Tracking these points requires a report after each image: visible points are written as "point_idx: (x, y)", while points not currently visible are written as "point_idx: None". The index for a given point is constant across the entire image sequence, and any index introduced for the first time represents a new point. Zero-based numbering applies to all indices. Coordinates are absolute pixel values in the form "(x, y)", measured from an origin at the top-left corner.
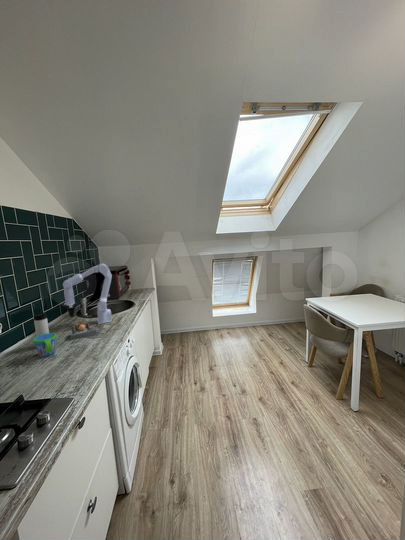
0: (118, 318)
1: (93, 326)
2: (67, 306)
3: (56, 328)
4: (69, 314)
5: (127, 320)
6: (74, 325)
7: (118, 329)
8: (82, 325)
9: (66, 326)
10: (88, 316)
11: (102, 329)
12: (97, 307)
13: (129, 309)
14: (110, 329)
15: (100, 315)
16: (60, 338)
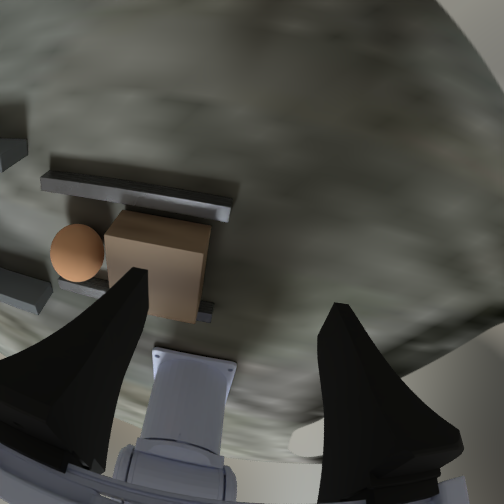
0: None
1: (27, 307)
2: (381, 436)
3: (365, 52)
4: (106, 292)
5: (128, 415)
6: (227, 219)
7: None
8: (55, 268)
9: (336, 152)
10: (417, 350)
11: (45, 319)
12: (119, 472)
13: (298, 458)
14: (32, 337)
15: (150, 412)
16: (8, 62)
